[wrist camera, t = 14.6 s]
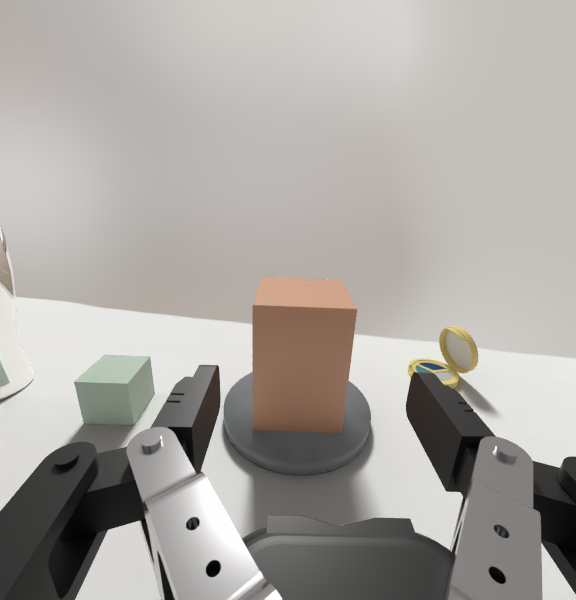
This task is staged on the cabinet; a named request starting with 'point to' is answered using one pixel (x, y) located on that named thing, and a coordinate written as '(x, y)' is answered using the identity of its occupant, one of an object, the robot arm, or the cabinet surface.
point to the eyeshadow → (450, 357)
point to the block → (115, 390)
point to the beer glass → (10, 332)
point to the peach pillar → (301, 354)
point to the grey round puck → (295, 435)
